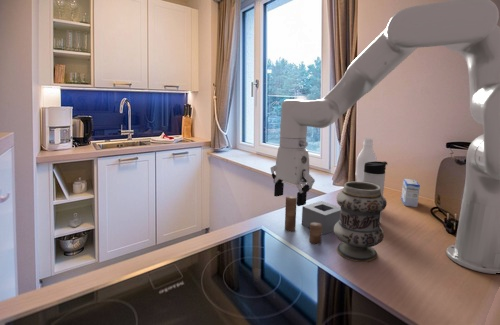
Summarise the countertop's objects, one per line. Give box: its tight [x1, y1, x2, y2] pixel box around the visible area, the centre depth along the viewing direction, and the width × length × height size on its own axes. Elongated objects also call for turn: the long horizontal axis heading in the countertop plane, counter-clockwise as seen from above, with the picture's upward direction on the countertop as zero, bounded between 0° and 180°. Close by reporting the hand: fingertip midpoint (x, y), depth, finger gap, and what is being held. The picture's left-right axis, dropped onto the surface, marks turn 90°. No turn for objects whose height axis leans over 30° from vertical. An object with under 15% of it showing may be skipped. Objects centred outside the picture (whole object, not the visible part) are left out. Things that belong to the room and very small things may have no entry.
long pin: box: [284, 195, 297, 232], centre depth 90 cm, size 3×3×10 cm
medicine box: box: [400, 178, 421, 208], centre depth 114 cm, size 8×4×9 cm, turn 162°
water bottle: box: [354, 137, 378, 182], centre depth 112 cm, size 7×7×25 cm
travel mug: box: [363, 160, 388, 221], centre depth 95 cm, size 6×7×20 cm
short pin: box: [308, 223, 322, 245], centre depth 83 cm, size 3×3×5 cm
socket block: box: [301, 200, 341, 235], centre depth 93 cm, size 9×9×6 cm
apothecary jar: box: [333, 181, 388, 263], centre depth 76 cm, size 12×12×18 cm
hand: (289, 200), depth 89 cm, fingers open, 9 cm apart
